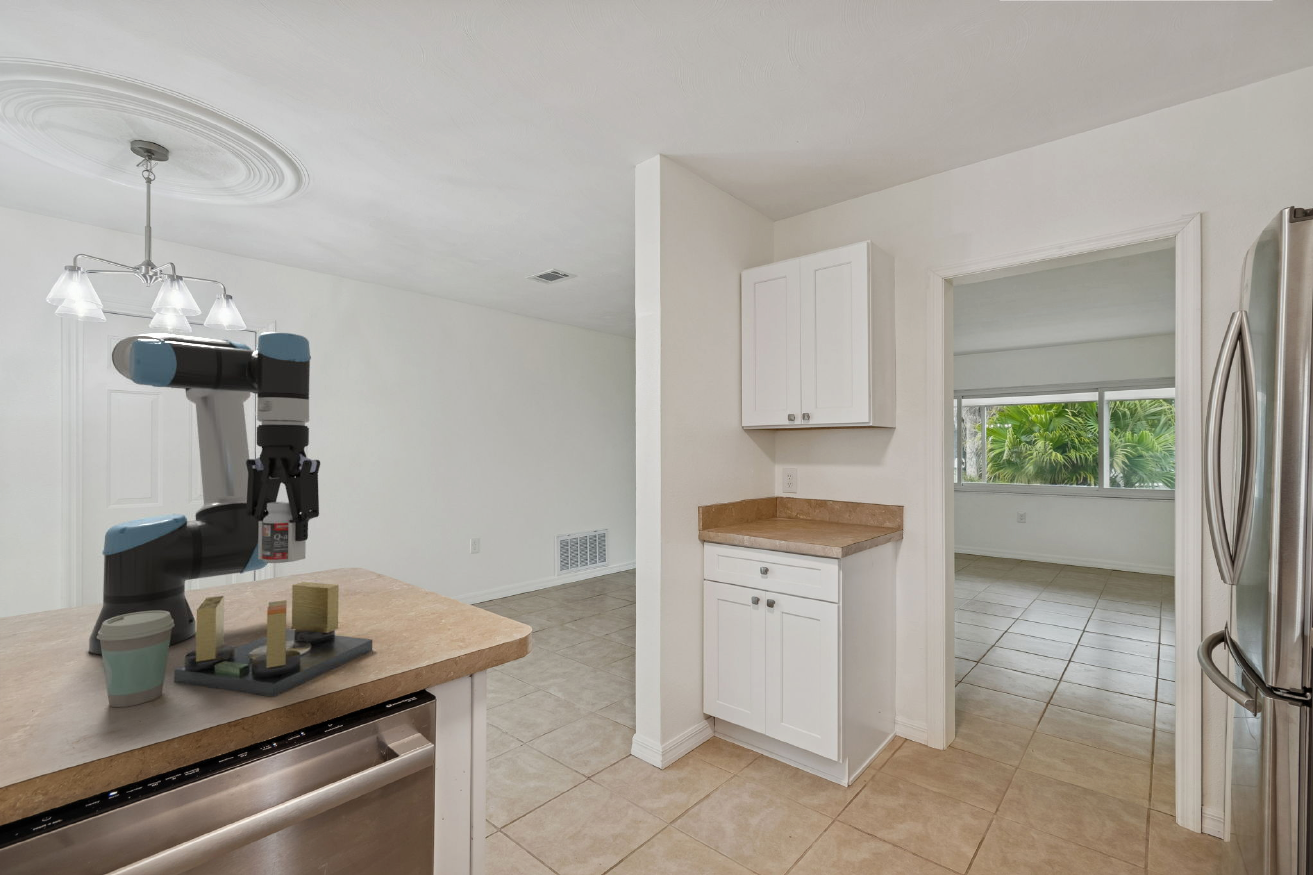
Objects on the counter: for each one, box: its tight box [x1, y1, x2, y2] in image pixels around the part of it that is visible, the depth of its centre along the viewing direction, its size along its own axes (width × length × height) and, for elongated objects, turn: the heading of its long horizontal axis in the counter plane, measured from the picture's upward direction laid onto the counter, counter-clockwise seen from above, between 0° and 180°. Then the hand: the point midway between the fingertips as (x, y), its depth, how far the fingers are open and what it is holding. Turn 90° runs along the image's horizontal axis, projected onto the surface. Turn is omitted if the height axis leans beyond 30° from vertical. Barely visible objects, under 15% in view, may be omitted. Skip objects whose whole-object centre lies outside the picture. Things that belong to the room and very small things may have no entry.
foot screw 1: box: [184, 595, 235, 672], centre depth 93 cm, size 8×6×10 cm
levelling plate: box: [173, 628, 373, 698], centre depth 98 cm, size 20×20×3 cm
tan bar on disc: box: [252, 599, 300, 679], centre depth 91 cm, size 8×6×11 cm
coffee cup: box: [97, 611, 175, 708], centre depth 85 cm, size 9×8×12 cm
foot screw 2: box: [291, 581, 340, 645], centre depth 105 cm, size 8×6×10 cm
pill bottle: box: [262, 500, 292, 564], centre depth 98 cm, size 6×6×10 cm
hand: (281, 558), depth 98 cm, fingers closed on pill bottle, 6 cm apart
